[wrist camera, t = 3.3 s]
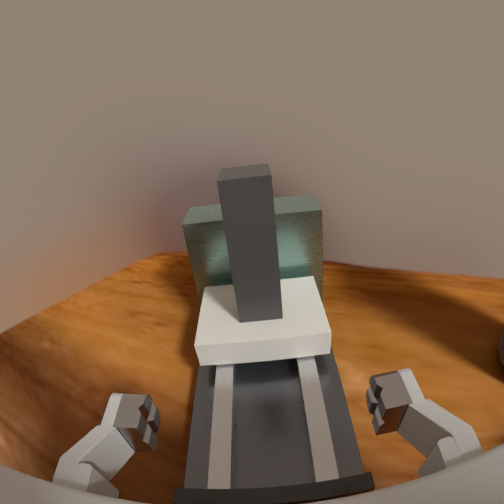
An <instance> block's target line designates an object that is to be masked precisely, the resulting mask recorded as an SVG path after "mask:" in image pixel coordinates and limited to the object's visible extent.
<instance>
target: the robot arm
mask: <svg viewBox="0 0 504 504" xmlns="http://www.w3.org/2000/svg"><path fill="white" fill-rule="evenodd" d="M369 383H370V386H371V387H370V388H369V389H367V395H366V397H367V406H368V410H369V412H370V413H371V414H372V415H374V417H373V420H372V423H373V426H374V430H375V433H376V435H380V434H385V433H390V432H394V431H397V432H398V433H399V434H400V435H401V436H402V437H403V438H404V439H406V440H407V441H408V442H409V443H410V444H411V445H412V446H413V447H415V448H416V449H417V450H418V451H419V452H420V453H421V454H423V455H424V456H425V457H426V460H425V461H424V463H423V464H422V465H421V467H420V468H419V470H418V473H419V476H420V478H417V479H414V480H411V481H408V482H405V483H401V484H398V485H394V486H391V487H387V488H383V489H379V490H375V491H371V492H367V493H362V494H358V495H353V496H348V497H343V498H337V499H331V500H325V501H319V502H312V503H304V504H504V443H502V444H500V445H498V446H496V447H494V448H492V449H490V450H488V451H486V452H483V449H482V447H481V445H480V443H479V440H478V438H477V436H476V434H475V432H474V430H473V427H472V426H470V425H469V424H467V423H465V422H464V421H462V420H461V419H459V418H458V417H456V416H454V415H453V414H451V413H450V412H448V411H447V410H445V409H443V408H442V407H440V406H439V405H437V404H436V403H434V402H433V401H431V400H429V399H427V400H425V398H424V396H423V394H422V392H421V389H420V387H419V385H418V383H417V381H416V379H415V377H414V375H413V373H412V371H411V369H410V368H405V369H401V370H397V371H391V372H387V373H382V374H378V375H373V376H371V377H370V381H369ZM152 401H153V400H152V398H151V396H150V395H140V394H125V393H113V394H112V395H111V396H110V398H109V401H108V404H107V407H106V410H105V413H104V416H103V419H102V422H101V425H97V426H96V427H95V428H93V429H92V430H91V431H90V432H89V433H88V434H87V435H85V436H84V437H83V438H82V439H81V440H80V441H78V442H77V443H76V444H75V445H74V446H73V447H71V448H70V449H69V450H68V451H67V452H65V453H64V454H63V455H62V456H61V457H60V459H59V462H58V465H57V468H56V471H55V474H54V477H53V480H52V482H49V481H46V480H43V479H40V478H37V477H34V476H31V475H28V474H25V473H22V472H20V471H17V470H14V469H12V468H9V467H7V466H4V465H2V464H0V504H151V503H143V502H136V501H130V500H124V499H118V496H119V490H118V489H117V488H116V487H115V486H113V485H112V484H111V483H110V481H111V479H112V478H113V477H114V476H115V475H116V474H117V472H118V471H119V470H120V469H121V468H122V467H123V465H124V464H125V463H126V462H127V461H128V460H129V458H130V457H131V456H132V455H133V454H134V453H135V451H143V452H155V447H156V441H157V437H156V436H155V434H154V433H155V432H156V431H157V430H158V429H159V425H160V415H159V411H158V409H157V407H156V406H154V405H153V404H152Z"/></svg>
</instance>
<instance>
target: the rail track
mask: <svg viewBox="0 0 504 504" xmlns="http://www.w3.org/2000/svg"><path fill="white" fill-rule="evenodd" d="M273 199H274V210H275V222H276V234H277V246H278V258H279V271H280V280H281V279H290V278H299V277H308V276H314V279H315V282H316V285H317V289H318V292H319V295H320V298H321V301H322V298H323V241H322V240H323V239H322V238H323V236H322V209H321V208H320V206H319V204H318V203H317V201H316V199H315V198H314V196H313V195H312V194H311V195H299V196H288V197H279V198H273ZM182 227H183V232H184V236H185V241H186V246H187V250H188V255H189V259H190V264H191V268H192V273H193V277H194V281H195V285H196V290H197V294H198V298H199V302H200V306H201V304H202V299H203V293H204V288H205V287H210V286H220V285H231V284H233V280H232V274H231V268H230V262H229V255H228V249H227V243H226V237H225V230H224V224H223V217H222V211H221V204H216V205H215V204H214V205H206V206H198V207H191V208H190V209H189V211H188V213H187V215H186V217H185V220H184V222H183V224H182ZM374 488H375V486H374V482H373V477H372V473H371V472H368V473H364V470H363V466H362V462H361V457H360V453H359V449H358V445H357V441H356V437H355V433H354V429H353V425H352V421H351V417H350V414H349V410H348V406H347V402H346V398H345V395H344V391H343V387H342V384H341V380H340V376H339V373H338V369H337V365H336V362H335V358H334V355H333V351H332V348H330V353H329V354H322V355H315V356H307V357H299V358H290V359H281V360H272V361H261V362H250V363H237V364H222V365H203V366H200V363H199V368H198V375H197V382H196V390H195V397H194V405H193V413H192V421H191V429H190V437H189V446H188V454H187V463H186V472H185V482H184V488H177V487H175V492H174V501H173V504H304V503H312V502H319V501H325V500H331V499H337V498H343V497H348V496H353V495H358V494H362V493H367V492H371V491H373V490H374Z"/></svg>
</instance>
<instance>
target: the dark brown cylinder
mask: <svg viewBox="0 0 504 504" xmlns="http://www.w3.org/2000/svg"><path fill="white" fill-rule="evenodd" d="M499 357H500V360H501V363H502V365H503V366H504V328H503V331H502V333H501V336H500V340H499Z"/></svg>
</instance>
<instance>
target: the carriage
mask: <svg viewBox="0 0 504 504" xmlns="http://www.w3.org/2000/svg"><path fill="white" fill-rule="evenodd" d="M217 184H218V191H219V198H220V204H221V211H222V217H223V224H224V230H225V237H226V243H227V249H228V255H229V262H230V268H231V274H232V280H233V284H231V285H220V286H210V287H205V288H204V293H203V299H202V304H201V309H200V315H199V321H198V326H197V332H196V338H195V343H194V347H195V350H196V353H197V356H198V359H199V363H200V366H203V365H222V364H237V363H250V362H261V361H272V360H281V359H290V358H299V357H307V356H315V355H322V354H329V353H330V348H331V329H330V326H329V323H328V320H327V316H326V313H325V310H324V307H323V304H322V301H321V298H320V295H319V292H318V289H317V285H316V282H315V279H314V276H308V277H299V278H290V279H281V280H280V271H279V258H278V246H277V234H276V222H275V210H274V199H273V188H272V178H271V172H270V169H269V166H268V164H259V165H251V166H242V167H233V168H224V169H221V170H220V173H219V177H218V180H217Z"/></svg>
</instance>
